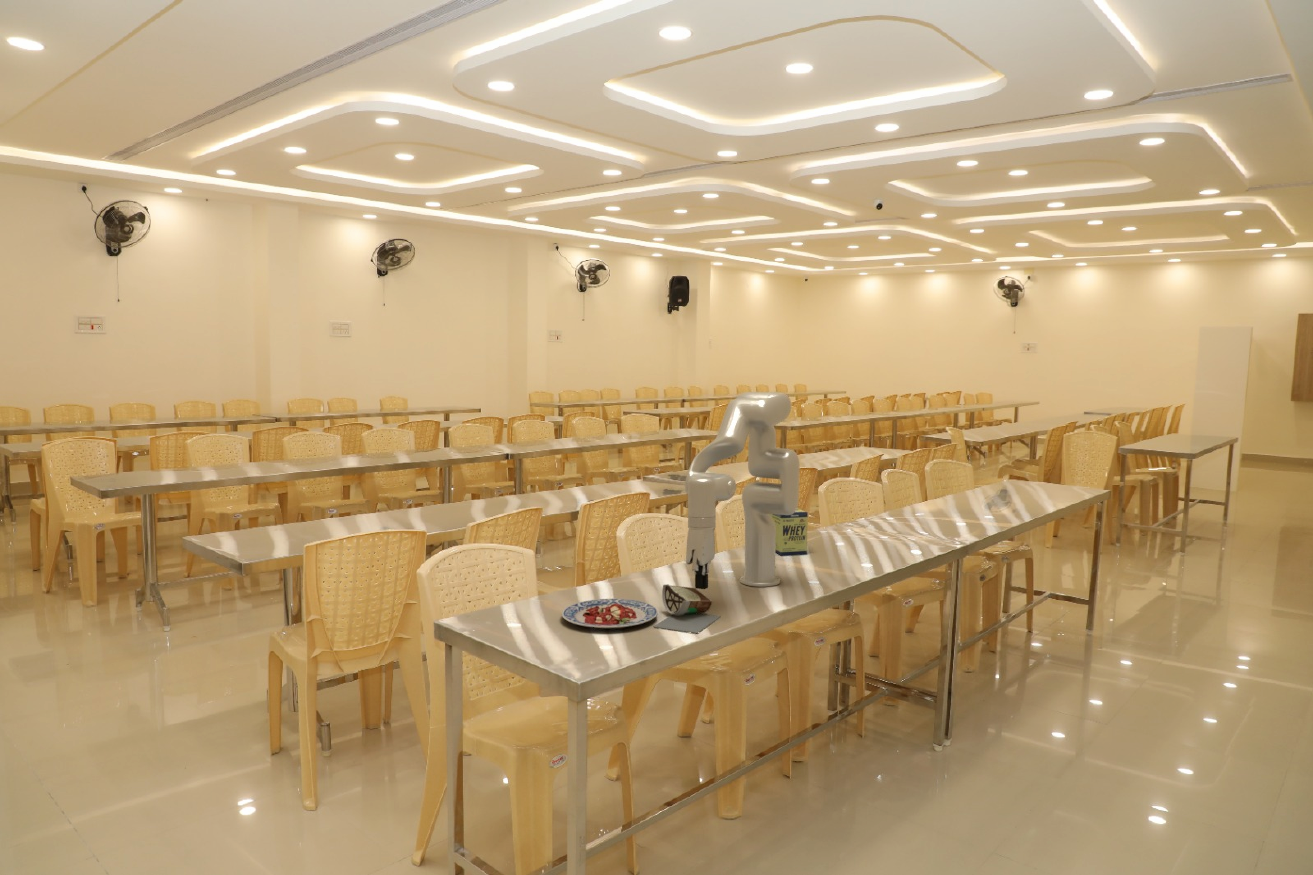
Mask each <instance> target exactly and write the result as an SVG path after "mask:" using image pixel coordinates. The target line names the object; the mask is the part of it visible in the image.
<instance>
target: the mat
mask: <svg viewBox="0 0 1313 875" xmlns="http://www.w3.org/2000/svg"><path fill="white" fill-rule="evenodd" d="M720 618H721V616H720V615H715V614H707V613H684V614H683V615H681V616H676V615H673V614H670V615H669V616H668V617H666V618H664V619H663V620H661V621H660V622H658V623H656V624H654V626H653V627H654V629H659V628H661V629H662V630H666V629H668V631H673V630H674V631H675V632H681V633H687V632H691V633H690V634H694V633H698V632H700V633H701V632H703V631H704V630H705V629H706V628H708V627H709V626H710V624H711V623H712V624H713V623H715V622H716V621H718V620H719V619H720ZM712 624H711V625H712ZM703 629H704V630H703ZM698 634H699V633H698Z"/></svg>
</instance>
